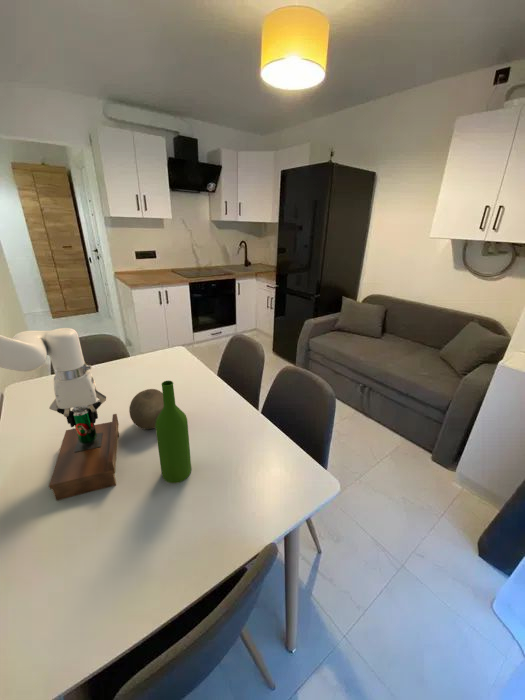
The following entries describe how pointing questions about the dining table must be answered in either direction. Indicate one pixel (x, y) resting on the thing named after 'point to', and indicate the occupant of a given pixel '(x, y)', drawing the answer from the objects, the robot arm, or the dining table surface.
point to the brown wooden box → (86, 462)
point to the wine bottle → (173, 438)
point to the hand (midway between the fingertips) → (83, 422)
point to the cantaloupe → (146, 408)
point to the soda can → (84, 424)
